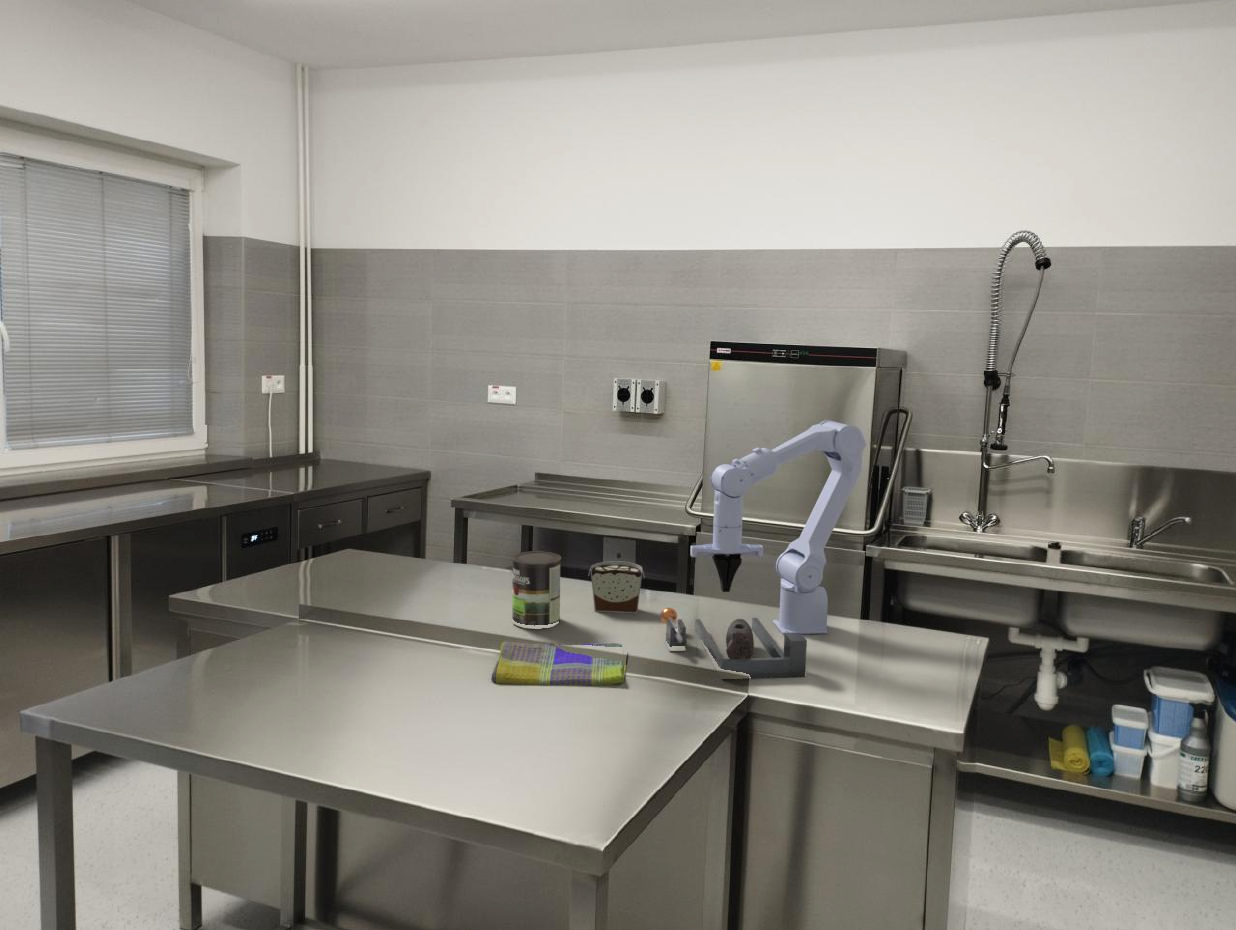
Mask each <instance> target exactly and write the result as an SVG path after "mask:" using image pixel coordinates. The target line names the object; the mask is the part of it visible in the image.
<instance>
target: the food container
mask: <svg viewBox="0 0 1236 930" xmlns="http://www.w3.org/2000/svg"><path fill="white" fill-rule="evenodd" d="M587 576H588V577H591V587H592V588H591V589H592V599H593V607H594V612H598V613H599V612H600V613H620V614H638V612H639V611H638V610H639V601H640V594H641V593H640V592H641V585H642V578H643V579H645V577H646V576H645V572H644V570H643V567H642V565H639V564H637V563H634V562H629V561H621V560H620V561H617V560H616V561H615V560H613V561H612V560H611V561H603V562H597V563H595V564H593V565H591V566H590V569H589V571H588V575H587Z"/></svg>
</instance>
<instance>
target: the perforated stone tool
mask: <svg viewBox="0 0 1236 930" xmlns="http://www.w3.org/2000/svg"><path fill="white" fill-rule="evenodd" d="M725 643H726V644H725V645H726V649H725V651H726V655H727V659H746V658H753V655H754V648H755V641H754V632H753V630H752V626H750V625H749V623H748V622H747V621H746V620H745V619H742V618H737V619H735V620H733V621H732V622H731V623H730V625H729V626H728V628H727V631H726V634H725Z"/></svg>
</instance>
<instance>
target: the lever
mask: <svg viewBox="0 0 1236 930" xmlns="http://www.w3.org/2000/svg"><path fill="white" fill-rule="evenodd" d="M660 619H661V621H662V623H664V624H665V625H667V620H669V619H670V620H671V622H672V624H673V627H674V634H675V636H676V638H677V640H678V642H679V643H682V642H683V638H682V636H681V634H680V632H679V630H678V625H677V624H676V621H678V614H677V610H675V608H673V607H665V608H664V609H663V610H662V611H661V613H660Z"/></svg>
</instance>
